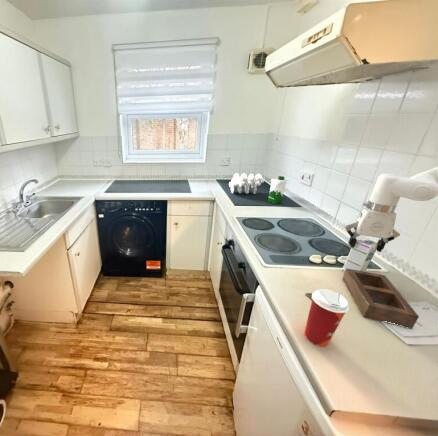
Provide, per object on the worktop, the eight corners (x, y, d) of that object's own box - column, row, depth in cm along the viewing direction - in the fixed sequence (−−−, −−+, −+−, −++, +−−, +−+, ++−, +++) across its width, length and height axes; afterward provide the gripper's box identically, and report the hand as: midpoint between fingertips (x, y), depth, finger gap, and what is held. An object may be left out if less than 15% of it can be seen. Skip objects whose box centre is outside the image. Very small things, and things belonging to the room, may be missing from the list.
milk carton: (283, 203, 180) (289, 177, 173) (274, 205, 177) (280, 178, 169) (273, 200, 188) (278, 175, 180) (265, 201, 184) (270, 176, 177)
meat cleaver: (319, 295, 87) (303, 292, 88) (320, 292, 86) (304, 289, 88) (330, 317, 76) (311, 314, 78) (330, 314, 76) (312, 311, 78)
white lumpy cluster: (227, 196, 211) (256, 195, 209) (232, 193, 194) (264, 192, 192) (226, 175, 212) (255, 174, 210) (232, 171, 194) (263, 169, 193)
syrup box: (357, 277, 96) (372, 246, 90) (341, 269, 101) (355, 239, 95) (364, 274, 98) (380, 243, 93) (348, 266, 103) (362, 237, 97)
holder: (379, 285, 91) (384, 275, 90) (412, 328, 73) (419, 316, 71) (342, 278, 96) (346, 268, 94) (363, 317, 77) (369, 305, 75)
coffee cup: (337, 354, 65) (356, 312, 59) (303, 344, 68) (317, 304, 62) (327, 330, 72) (343, 291, 66) (297, 323, 75) (309, 284, 69)
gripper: (355, 207, 88) (340, 248, 95) (417, 214, 82) (397, 257, 89) (348, 201, 95) (335, 240, 101) (406, 207, 88) (387, 248, 95)
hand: (364, 248), depth 95 cm, fingers closed on syrup box, 8 cm apart
